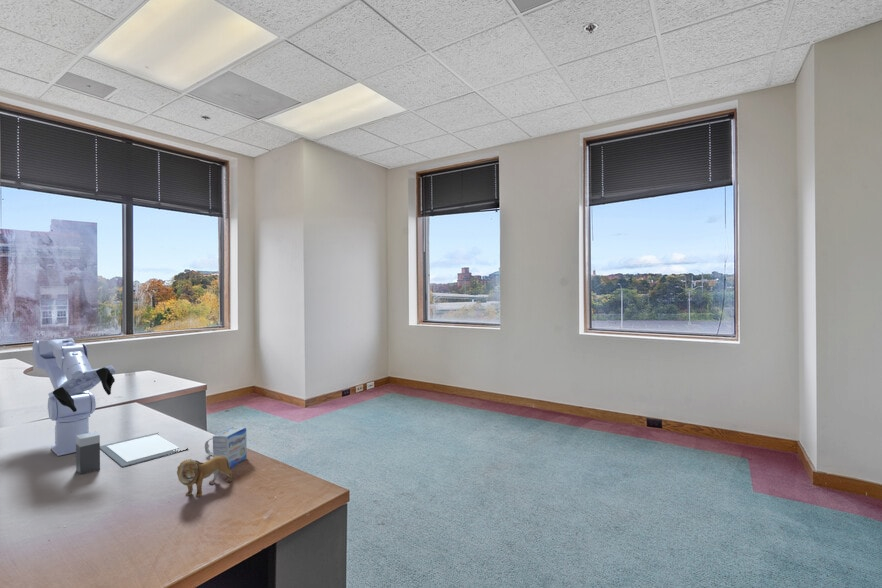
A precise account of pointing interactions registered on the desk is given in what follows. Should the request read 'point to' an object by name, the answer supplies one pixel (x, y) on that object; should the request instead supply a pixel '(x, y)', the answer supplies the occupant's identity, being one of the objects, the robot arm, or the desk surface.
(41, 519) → the desk surface
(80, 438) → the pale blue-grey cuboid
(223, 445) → the medicine box
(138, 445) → the desk mat
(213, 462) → the lion figurine
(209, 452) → the wristwatch
